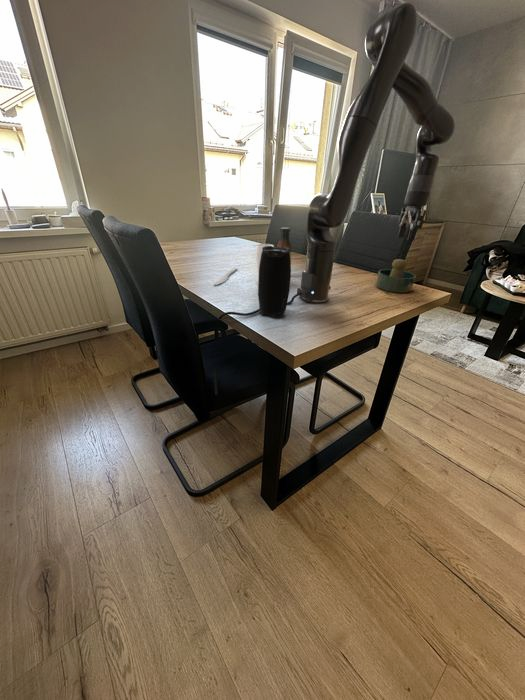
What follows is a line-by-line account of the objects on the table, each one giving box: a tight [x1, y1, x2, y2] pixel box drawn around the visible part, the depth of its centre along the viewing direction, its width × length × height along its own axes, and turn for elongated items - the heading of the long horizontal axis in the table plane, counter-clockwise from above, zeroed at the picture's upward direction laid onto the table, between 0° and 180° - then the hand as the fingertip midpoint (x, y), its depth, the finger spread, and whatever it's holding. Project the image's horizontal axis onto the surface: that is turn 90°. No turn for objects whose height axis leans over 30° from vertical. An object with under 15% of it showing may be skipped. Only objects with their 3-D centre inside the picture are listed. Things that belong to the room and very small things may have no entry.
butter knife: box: [214, 267, 237, 286], centre depth 121 cm, size 1×27×3 cm
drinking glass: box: [255, 243, 275, 284], centre depth 111 cm, size 7×7×15 cm
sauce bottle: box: [276, 227, 293, 263], centre depth 121 cm, size 7×6×20 cm
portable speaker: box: [257, 246, 292, 319], centre depth 83 cm, size 9×9×20 cm
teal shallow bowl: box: [375, 268, 417, 294], centre depth 115 cm, size 14×14×6 cm
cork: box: [390, 258, 408, 278], centre depth 114 cm, size 6×6×11 cm
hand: (405, 239), depth 107 cm, fingers open, 8 cm apart
